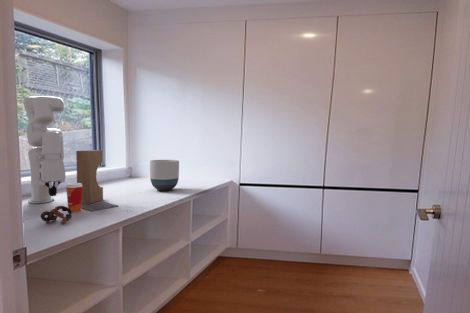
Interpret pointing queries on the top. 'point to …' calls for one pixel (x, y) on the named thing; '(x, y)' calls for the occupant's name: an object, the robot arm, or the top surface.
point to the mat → (98, 206)
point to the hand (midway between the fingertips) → (52, 195)
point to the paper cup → (74, 196)
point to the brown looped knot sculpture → (55, 212)
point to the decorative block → (89, 175)
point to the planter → (164, 174)
